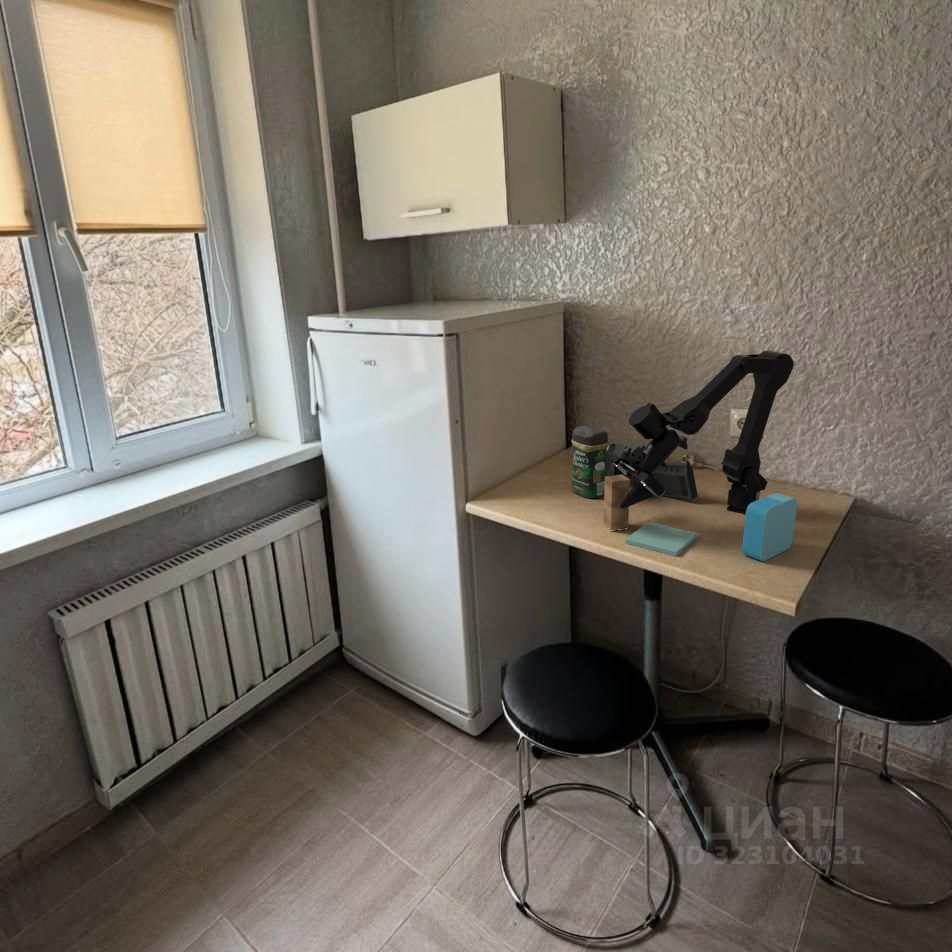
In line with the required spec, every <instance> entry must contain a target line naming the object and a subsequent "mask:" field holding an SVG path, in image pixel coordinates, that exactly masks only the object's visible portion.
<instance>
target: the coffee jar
mask: <svg viewBox="0 0 952 952" xmlns="http://www.w3.org/2000/svg"><path fill="white" fill-rule="evenodd" d="M571 435H572V438H571V444H572V451H573V453H572V454H573V455H572V456H573V459H572V473H571V487H570V488H571V491H572V492H573V493H575V494H576V495H579V496H582V497H584V498H588V499H590V498H596V499H597V498H601V497H602V496H603V497H604V494H603V491H604V488H605V477H606V451H607V448H608V446H609V435H608V432H606V431H605V430H602V429H597V428H595V427H591V426H589V425H586V424H585V425H580V426H577V427H575V428H574V429H573V431H572V434H571Z"/></svg>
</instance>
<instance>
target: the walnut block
mask: <svg viewBox="0 0 952 952" xmlns="http://www.w3.org/2000/svg"><path fill="white" fill-rule="evenodd" d="M630 491H631V487H630V479H628V478H627V477H625V476H624V475H615V476H606V477H605V489H604V495H603V526H604V525H605V526H606V527H607V528H609V530H618V529H625V528H628V529H629V520H630V519H629V517H630V506H629V507H626V508H624V509H622V508H621V507H620V504H621V503H622V501H623V500H624V498H625V497H626V496H627V495H628V493H629V492H630ZM605 526H604V527H605ZM606 527H605V528H606ZM607 528H606V529H607ZM609 530H608V531H609Z"/></svg>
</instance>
